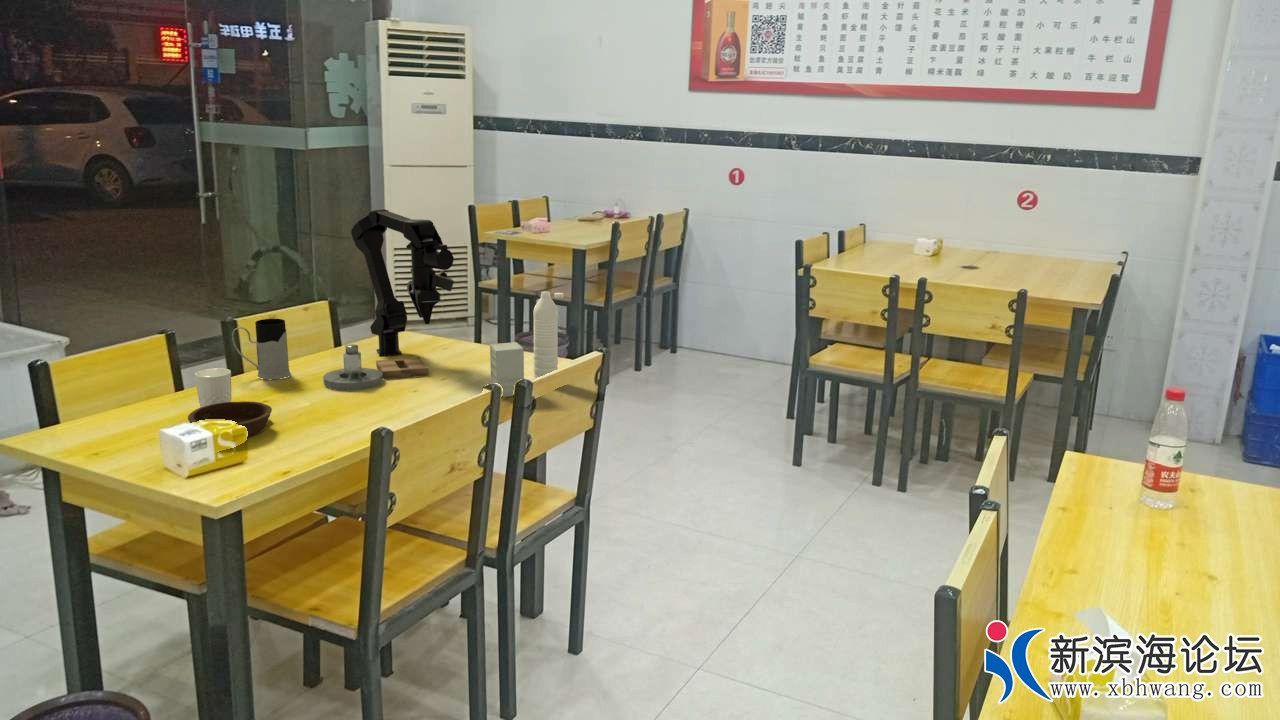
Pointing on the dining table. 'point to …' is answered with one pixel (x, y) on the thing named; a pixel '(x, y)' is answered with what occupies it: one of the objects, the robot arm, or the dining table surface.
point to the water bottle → (545, 334)
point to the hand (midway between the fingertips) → (424, 320)
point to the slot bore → (395, 371)
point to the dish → (236, 414)
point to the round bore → (353, 380)
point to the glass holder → (270, 348)
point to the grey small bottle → (352, 362)
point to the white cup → (213, 386)
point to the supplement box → (506, 365)
